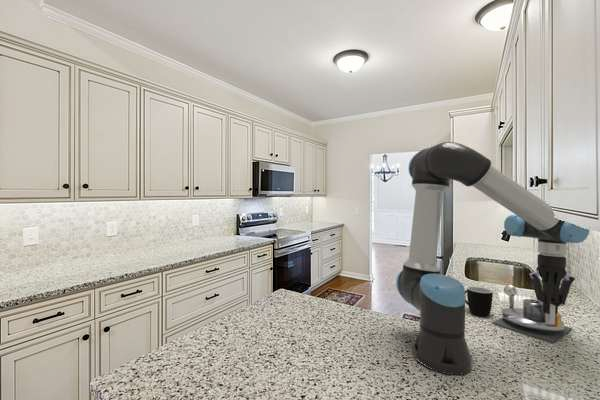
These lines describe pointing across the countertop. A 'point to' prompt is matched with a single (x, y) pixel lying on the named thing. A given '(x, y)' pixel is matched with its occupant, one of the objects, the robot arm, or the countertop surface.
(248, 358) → the countertop surface
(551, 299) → the robot arm
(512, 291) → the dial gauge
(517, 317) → the turntable
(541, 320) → the cover
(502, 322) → the turntable base
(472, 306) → the mug
